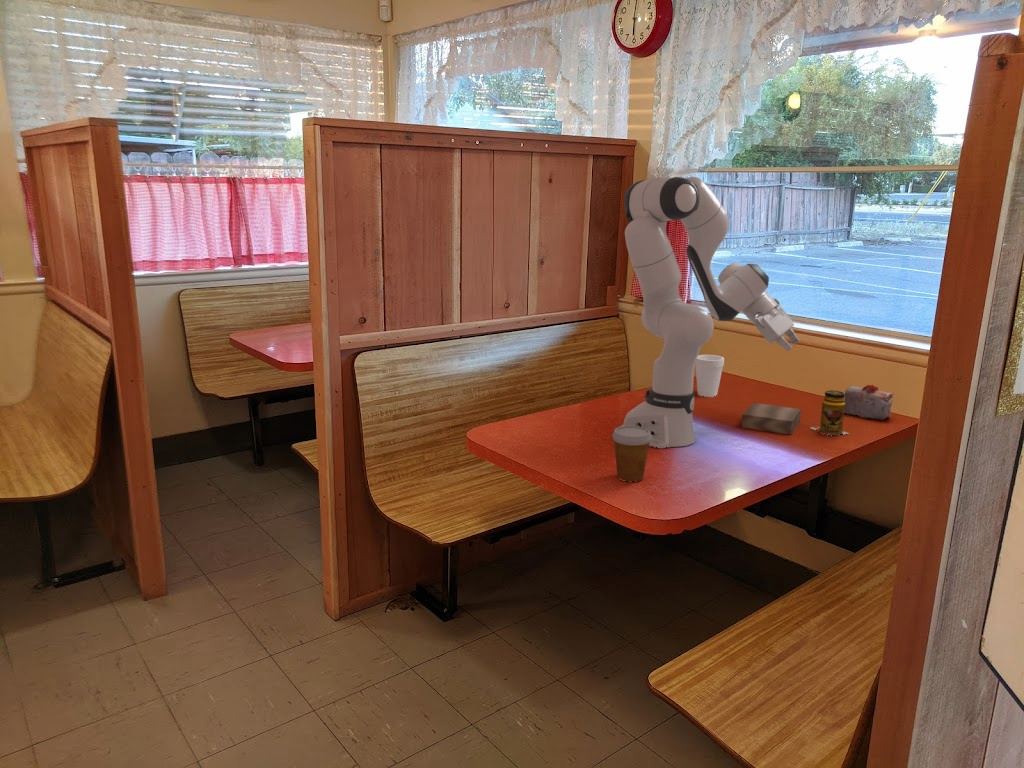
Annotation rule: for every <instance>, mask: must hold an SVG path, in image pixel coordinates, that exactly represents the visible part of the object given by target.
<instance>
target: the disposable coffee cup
mask: <svg viewBox="0 0 1024 768" xmlns="http://www.w3.org/2000/svg"><path fill="white" fill-rule="evenodd" d="M620 426H621V427H620ZM620 426H617V427H616V428H614V431H613V433H612V435H611V437H612V439H613V443H614V444H613V445H614V453H615V465H616V477H617V476H618V477H617V479H618V478H620V479H622V480H625V481H634V482H633V483H636V482H635V481H639V482H641V481H643V480H644V475H645V471H646V470H645V469H646V465H647V460H648V454H649V447H650V446H649V443H650V441H651V439H652V436H651V434H650V431H649V430H648V429H646V428H643V427H639V426H622V425H620ZM620 479H619V480H620ZM642 479H643V480H642ZM622 480H621V481H622ZM640 480H641V481H640ZM625 481H624V482H625Z"/></svg>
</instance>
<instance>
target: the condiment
mask: <svg viewBox="0 0 1024 768" xmlns="http://www.w3.org/2000/svg"><path fill="white" fill-rule="evenodd" d="M844 400H845V392H843V391H840V390H833V389H832V390H831V389H830V390H827V391H825V392H824V400H822V403H821V405H822V406H821V414H820V423H819V424H820V425H819V426H817V427H818V428H820V432H822V433H825V434H830V435H831V436H830V437H833V436H832V435H838V436H841V435H840V434H842V433H843V436H844V435H850V433H849V432H846V431H845V430H844V431H843V429H844V419H845V414H844V411H845V402H844ZM814 427H815V426H812V427H809V429H812V430H814V431H816V429H818V428H814ZM842 431H843V432H842ZM822 433H821V434H822ZM827 437H829V436H828V435H827Z"/></svg>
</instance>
